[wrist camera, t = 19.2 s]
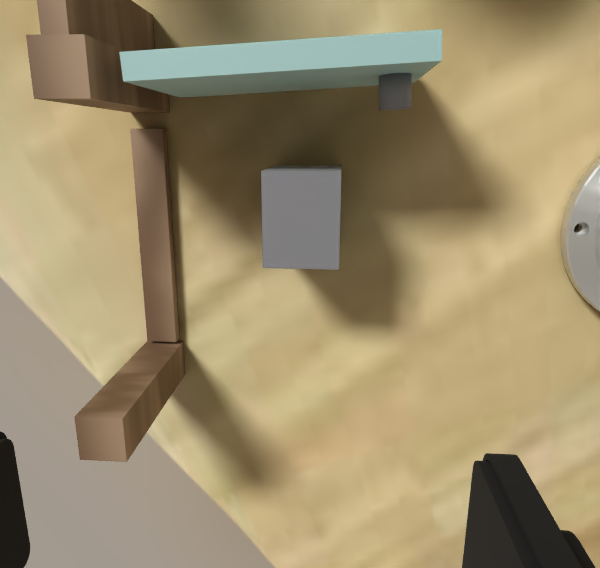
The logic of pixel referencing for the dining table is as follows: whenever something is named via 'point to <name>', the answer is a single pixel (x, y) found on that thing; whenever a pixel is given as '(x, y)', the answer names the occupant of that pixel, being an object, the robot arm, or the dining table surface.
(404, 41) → the door
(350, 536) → the dining table surface
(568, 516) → the dining table surface
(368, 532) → the dining table surface
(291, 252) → the block
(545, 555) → the robot arm
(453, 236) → the dining table surface
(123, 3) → the door frame
